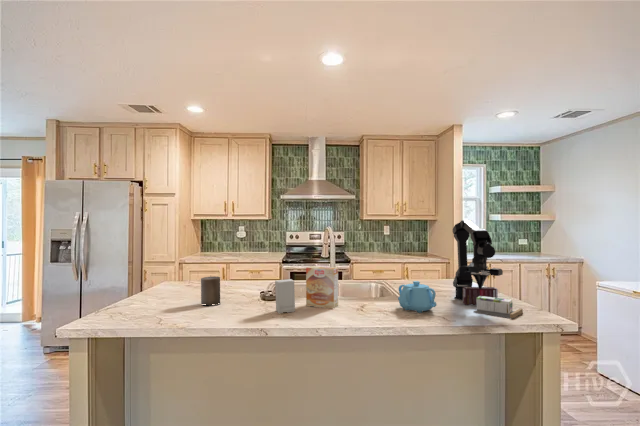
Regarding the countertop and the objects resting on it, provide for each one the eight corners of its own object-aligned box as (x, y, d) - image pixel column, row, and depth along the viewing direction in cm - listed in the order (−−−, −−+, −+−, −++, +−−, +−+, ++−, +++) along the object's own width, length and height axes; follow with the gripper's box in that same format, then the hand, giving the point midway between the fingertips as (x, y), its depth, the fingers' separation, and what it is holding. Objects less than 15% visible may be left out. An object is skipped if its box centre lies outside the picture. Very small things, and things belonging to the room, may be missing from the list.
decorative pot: (430, 306, 184) (430, 278, 184) (438, 314, 168) (437, 284, 168) (397, 305, 186) (397, 278, 186) (401, 313, 170) (401, 284, 170)
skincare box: (291, 309, 179) (291, 278, 179) (295, 312, 174) (295, 280, 174) (274, 310, 176) (274, 279, 177) (277, 313, 171) (277, 281, 171)
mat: (473, 312, 171) (473, 307, 171) (484, 307, 181) (484, 303, 181) (513, 318, 159) (512, 314, 159) (522, 313, 169) (522, 309, 169)
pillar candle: (224, 303, 193) (224, 274, 193) (209, 307, 185) (209, 277, 185) (211, 301, 198) (211, 273, 198) (196, 305, 190) (196, 275, 190)
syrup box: (479, 295, 179) (512, 298, 170) (480, 307, 179) (513, 311, 170) (476, 297, 175) (509, 301, 166) (476, 310, 175) (510, 314, 166)
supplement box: (494, 287, 188) (462, 286, 190) (498, 288, 184) (465, 288, 185) (494, 303, 188) (462, 303, 190) (497, 306, 183) (465, 305, 185)
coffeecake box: (305, 306, 185) (305, 267, 185) (311, 303, 192) (311, 265, 192) (333, 308, 179) (333, 268, 180) (338, 305, 186) (338, 267, 186)
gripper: (453, 255, 177) (453, 288, 177) (493, 258, 164) (494, 293, 164) (463, 254, 185) (464, 285, 185) (502, 256, 172) (503, 290, 172)
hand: (480, 288), depth 176 cm, fingers closed
